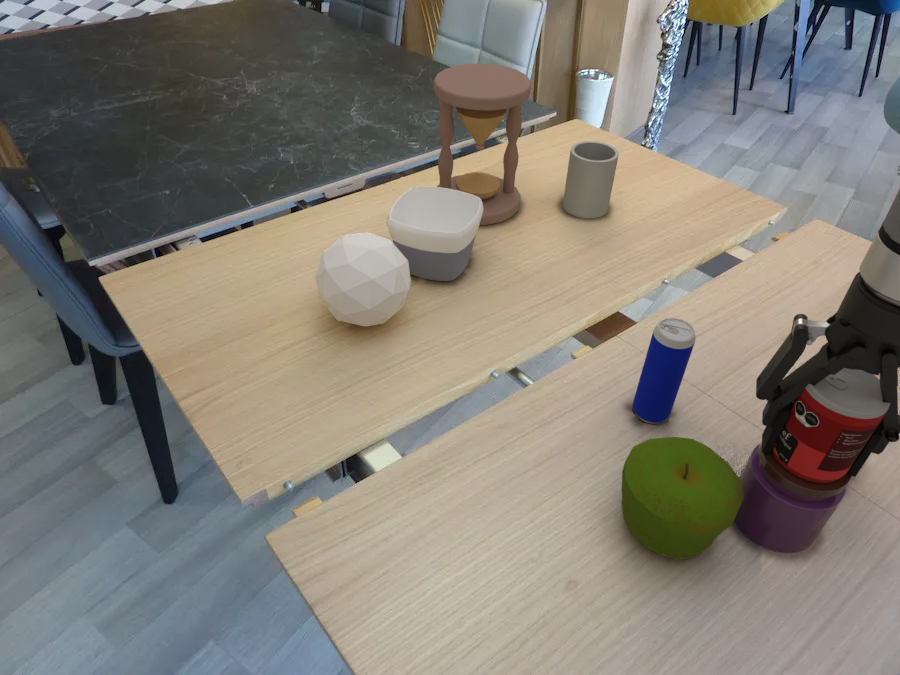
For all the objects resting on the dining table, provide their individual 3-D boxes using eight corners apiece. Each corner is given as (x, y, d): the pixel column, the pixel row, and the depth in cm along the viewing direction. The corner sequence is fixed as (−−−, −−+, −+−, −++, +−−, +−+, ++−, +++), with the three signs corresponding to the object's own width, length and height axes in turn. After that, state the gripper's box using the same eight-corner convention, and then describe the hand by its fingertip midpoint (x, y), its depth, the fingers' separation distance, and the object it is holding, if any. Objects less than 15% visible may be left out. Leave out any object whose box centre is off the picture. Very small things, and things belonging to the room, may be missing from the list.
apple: (594, 536, 77) (611, 476, 70) (634, 467, 85) (653, 406, 78) (700, 593, 72) (730, 535, 65) (732, 514, 80) (762, 454, 73)
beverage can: (673, 407, 93) (702, 325, 84) (663, 431, 90) (691, 348, 80) (638, 393, 95) (662, 311, 86) (626, 416, 92) (649, 333, 82)
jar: (814, 496, 82) (852, 436, 75) (818, 565, 75) (860, 506, 68) (730, 472, 85) (758, 412, 78) (726, 537, 78) (757, 477, 70)
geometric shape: (388, 329, 113) (441, 265, 107) (351, 358, 99) (410, 287, 93) (325, 273, 113) (375, 206, 107) (280, 295, 100) (334, 219, 93)
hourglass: (517, 183, 142) (528, 64, 126) (522, 227, 129) (535, 99, 113) (435, 181, 142) (435, 61, 126) (431, 224, 129) (431, 96, 113)
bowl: (463, 296, 112) (465, 239, 105) (379, 277, 116) (375, 221, 108) (488, 248, 123) (492, 194, 116) (411, 233, 127) (410, 179, 119)
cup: (608, 220, 132) (619, 164, 124) (562, 215, 133) (570, 159, 125) (607, 198, 138) (617, 143, 131) (563, 193, 139) (571, 139, 132)
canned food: (775, 419, 77) (810, 348, 70) (850, 448, 74) (895, 376, 66) (761, 464, 72) (798, 393, 64) (841, 497, 69) (889, 425, 61)
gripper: (777, 284, 58) (706, 453, 72) (1056, 341, 52) (918, 511, 67) (776, 240, 63) (710, 406, 78) (1030, 288, 58) (907, 456, 73)
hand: (807, 454), depth 73 cm, fingers closed on canned food, 8 cm apart
